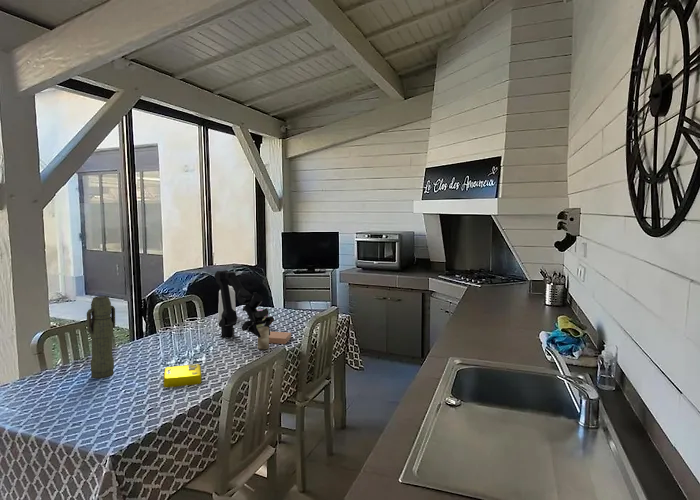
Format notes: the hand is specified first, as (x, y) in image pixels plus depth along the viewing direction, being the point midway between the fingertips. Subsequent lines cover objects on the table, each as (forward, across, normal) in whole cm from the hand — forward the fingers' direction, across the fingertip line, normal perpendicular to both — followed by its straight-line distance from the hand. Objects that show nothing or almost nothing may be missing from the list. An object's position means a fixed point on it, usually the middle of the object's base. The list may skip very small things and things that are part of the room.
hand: (264, 336), depth 237 cm
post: (+4, 0, +6) cm, 7 cm away
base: (-1, +16, +11) cm, 19 cm away
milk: (-47, +26, +58) cm, 79 cm away
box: (-21, +25, +32) cm, 46 cm away
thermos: (-9, -74, +19) cm, 77 cm away
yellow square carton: (+12, -53, -2) cm, 54 cm away
